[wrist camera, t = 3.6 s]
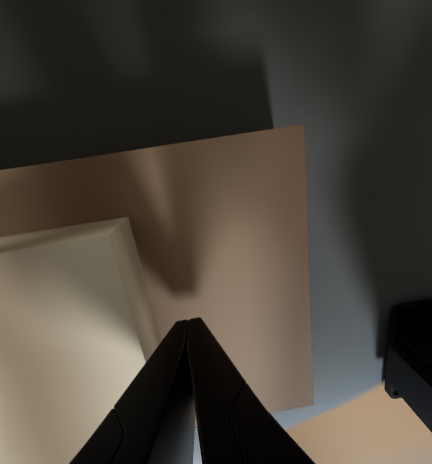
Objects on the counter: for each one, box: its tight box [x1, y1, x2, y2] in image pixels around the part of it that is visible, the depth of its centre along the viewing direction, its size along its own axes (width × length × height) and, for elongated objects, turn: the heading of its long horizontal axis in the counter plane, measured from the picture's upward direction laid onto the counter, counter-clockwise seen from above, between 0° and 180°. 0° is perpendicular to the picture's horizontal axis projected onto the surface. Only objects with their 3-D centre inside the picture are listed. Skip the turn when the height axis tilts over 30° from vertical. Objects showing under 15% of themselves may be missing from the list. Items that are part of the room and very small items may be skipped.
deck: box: [0, 124, 314, 427], centre depth 11 cm, size 13×12×3 cm
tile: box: [0, 217, 161, 464], centre depth 8 cm, size 6×8×2 cm
